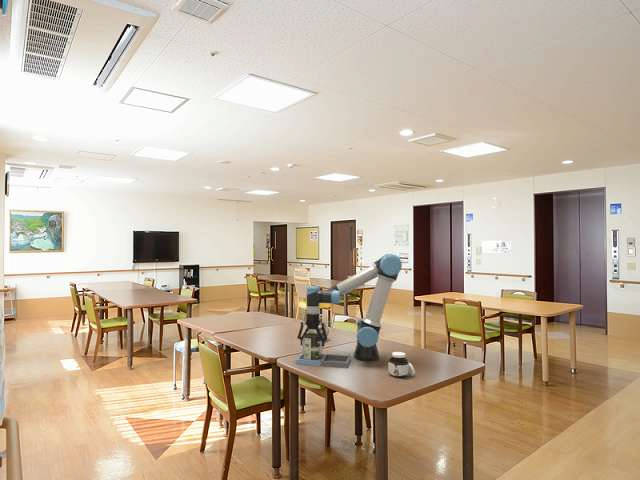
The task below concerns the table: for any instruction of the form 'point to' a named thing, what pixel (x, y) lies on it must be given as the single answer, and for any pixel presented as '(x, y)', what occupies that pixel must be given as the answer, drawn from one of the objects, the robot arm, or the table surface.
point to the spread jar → (400, 366)
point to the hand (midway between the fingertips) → (312, 351)
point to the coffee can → (312, 346)
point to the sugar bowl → (320, 330)
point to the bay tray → (325, 363)
